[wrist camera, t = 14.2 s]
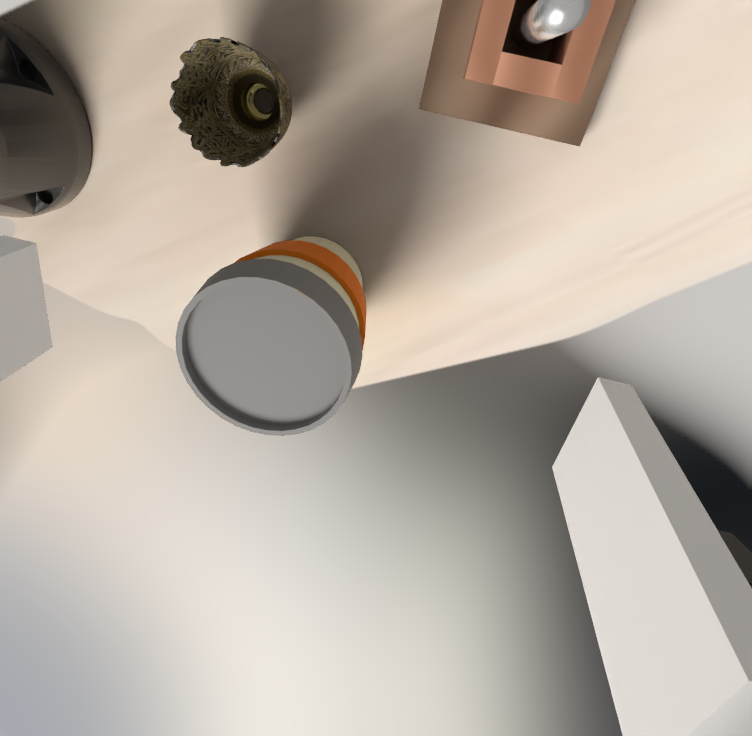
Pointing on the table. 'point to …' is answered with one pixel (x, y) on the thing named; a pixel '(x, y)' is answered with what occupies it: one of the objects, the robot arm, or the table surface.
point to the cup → (230, 101)
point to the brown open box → (543, 78)
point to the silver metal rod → (549, 20)
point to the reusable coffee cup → (276, 336)
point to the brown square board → (503, 104)
